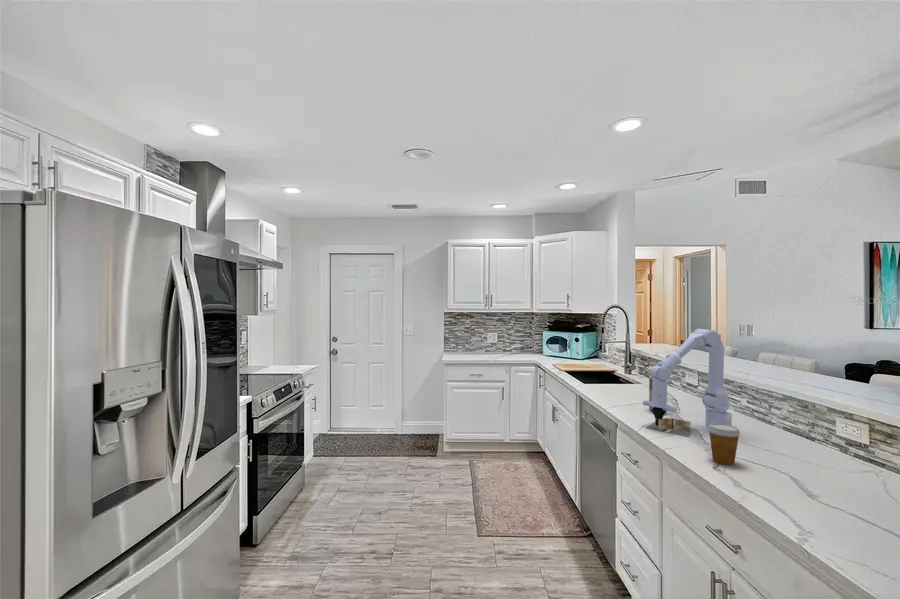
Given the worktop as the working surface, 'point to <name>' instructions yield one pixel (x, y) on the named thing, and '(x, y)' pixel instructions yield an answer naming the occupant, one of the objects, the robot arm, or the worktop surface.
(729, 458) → the disposable coffee cup
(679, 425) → the block
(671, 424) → the hinged panel
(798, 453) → the worktop surface
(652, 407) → the coffee box
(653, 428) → the card
